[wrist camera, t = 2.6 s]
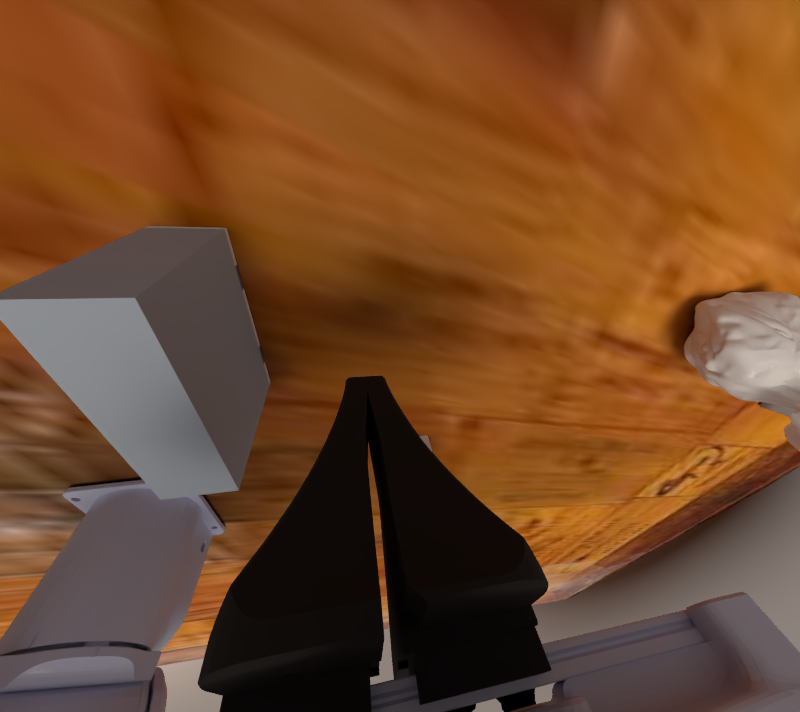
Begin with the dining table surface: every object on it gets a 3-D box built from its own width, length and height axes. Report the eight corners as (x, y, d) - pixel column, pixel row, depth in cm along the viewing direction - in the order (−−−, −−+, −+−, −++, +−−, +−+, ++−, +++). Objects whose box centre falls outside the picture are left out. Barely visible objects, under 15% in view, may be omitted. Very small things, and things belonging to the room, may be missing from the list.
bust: (632, 306, 22) (669, 462, 19) (781, 244, 15) (881, 477, 12) (733, 323, 25) (780, 459, 22) (896, 279, 18) (998, 470, 15)
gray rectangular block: (270, 381, 18) (238, 490, 12) (218, 384, 17) (160, 499, 12) (226, 227, 12) (135, 297, 7) (148, 225, 12) (-18, 300, 6)
